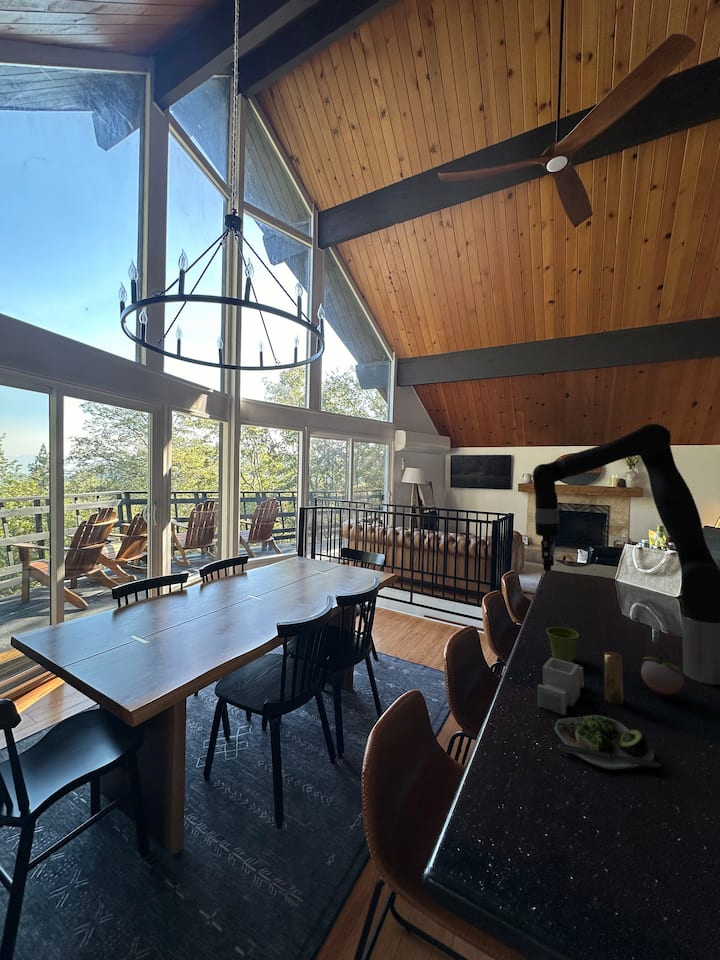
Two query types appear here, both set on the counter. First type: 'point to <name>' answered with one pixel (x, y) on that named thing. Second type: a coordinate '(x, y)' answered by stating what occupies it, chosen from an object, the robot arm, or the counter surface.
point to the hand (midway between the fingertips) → (548, 568)
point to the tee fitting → (559, 685)
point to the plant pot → (562, 643)
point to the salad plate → (605, 743)
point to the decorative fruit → (662, 676)
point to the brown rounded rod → (613, 678)
